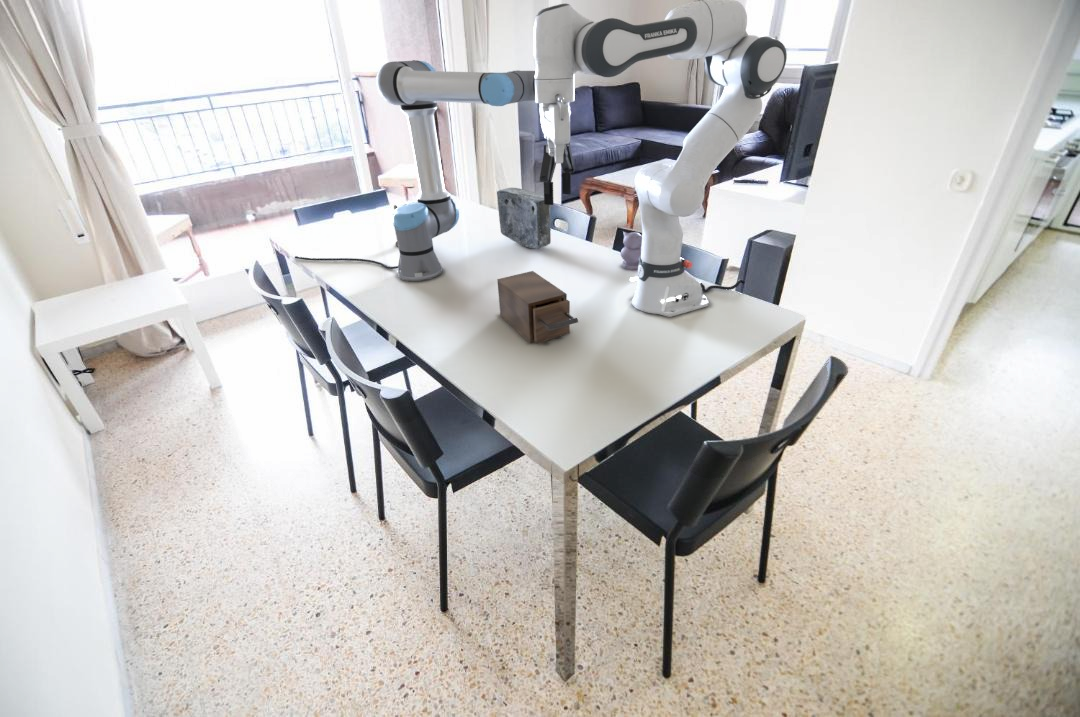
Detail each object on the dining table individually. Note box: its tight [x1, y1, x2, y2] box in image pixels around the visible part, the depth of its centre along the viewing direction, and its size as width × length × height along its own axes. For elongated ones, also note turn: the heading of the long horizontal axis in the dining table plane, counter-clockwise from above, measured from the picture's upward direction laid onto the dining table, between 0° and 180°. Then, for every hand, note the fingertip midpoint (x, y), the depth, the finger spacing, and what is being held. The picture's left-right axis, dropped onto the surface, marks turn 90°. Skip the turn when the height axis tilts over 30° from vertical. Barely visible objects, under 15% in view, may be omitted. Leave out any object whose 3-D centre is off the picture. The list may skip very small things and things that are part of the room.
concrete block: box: [496, 187, 552, 249], centre depth 194 cm, size 27×9×20 cm, turn 36°
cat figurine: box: [620, 231, 642, 271], centre depth 172 cm, size 9×8×12 cm
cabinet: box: [497, 270, 568, 344], centre depth 138 cm, size 19×11×12 cm, turn 28°
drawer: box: [531, 299, 579, 344], centre depth 133 cm, size 23×10×10 cm, turn 28°
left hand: (558, 199), depth 154 cm, fingers open, 13 cm apart
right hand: (555, 159), depth 118 cm, fingers open, 8 cm apart
